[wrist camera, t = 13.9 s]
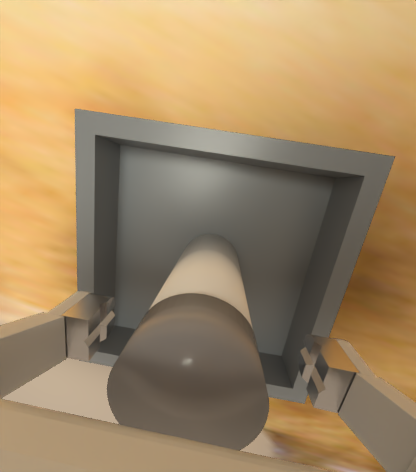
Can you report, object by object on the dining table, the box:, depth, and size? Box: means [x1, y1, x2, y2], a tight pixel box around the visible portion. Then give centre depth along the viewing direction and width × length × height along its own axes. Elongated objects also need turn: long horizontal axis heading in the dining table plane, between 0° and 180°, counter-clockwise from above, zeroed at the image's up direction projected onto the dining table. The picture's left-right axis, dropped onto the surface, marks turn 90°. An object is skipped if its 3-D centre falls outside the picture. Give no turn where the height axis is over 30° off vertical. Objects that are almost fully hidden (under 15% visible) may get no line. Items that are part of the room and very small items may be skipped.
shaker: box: [107, 234, 269, 451], centre depth 11 cm, size 5×5×11 cm
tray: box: [75, 109, 395, 404], centre depth 15 cm, size 18×18×4 cm
